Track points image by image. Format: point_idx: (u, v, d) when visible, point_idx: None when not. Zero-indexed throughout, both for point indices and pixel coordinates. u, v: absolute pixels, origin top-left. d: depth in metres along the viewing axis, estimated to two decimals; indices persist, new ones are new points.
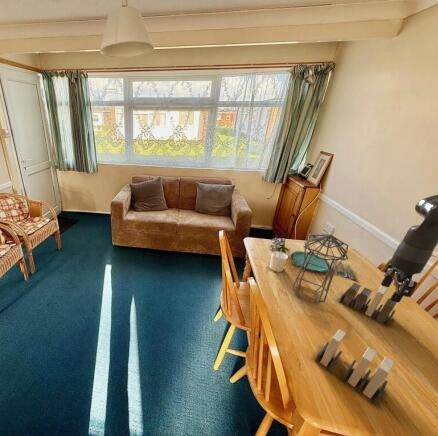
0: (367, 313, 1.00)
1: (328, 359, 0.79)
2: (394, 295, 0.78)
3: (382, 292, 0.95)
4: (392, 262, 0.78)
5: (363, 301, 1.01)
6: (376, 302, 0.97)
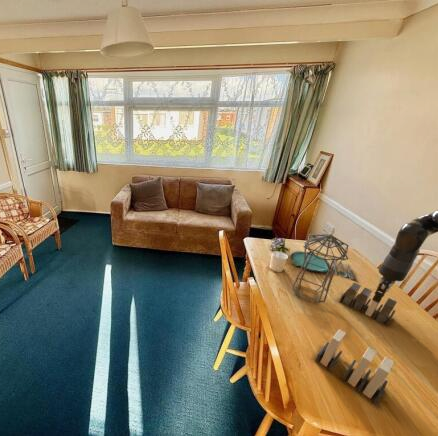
0: (367, 313, 1.00)
1: (328, 359, 0.79)
2: (374, 295, 0.96)
3: None
4: (379, 269, 0.95)
5: (363, 301, 1.01)
6: (376, 302, 0.97)
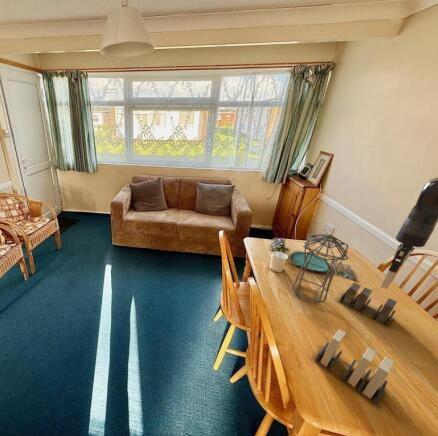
0: (382, 286, 0.93)
1: (328, 359, 0.79)
2: (391, 265, 0.89)
3: (400, 261, 0.88)
4: (396, 236, 0.88)
5: (363, 301, 1.01)
6: (393, 272, 0.89)
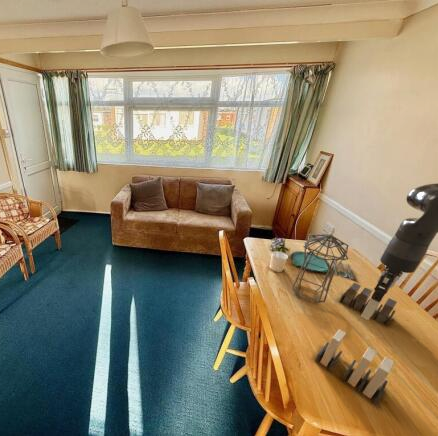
0: (364, 316, 0.77)
1: (328, 359, 0.79)
2: (374, 292, 0.72)
3: None
4: (381, 257, 0.71)
5: (363, 301, 1.01)
6: (376, 301, 0.73)
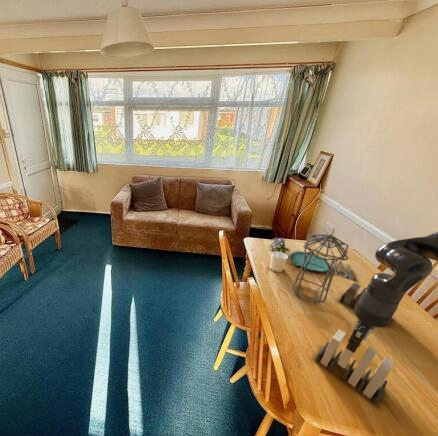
0: (340, 363, 0.76)
1: (328, 359, 0.79)
2: (349, 343, 0.72)
3: None
4: (355, 308, 0.71)
5: None
6: None
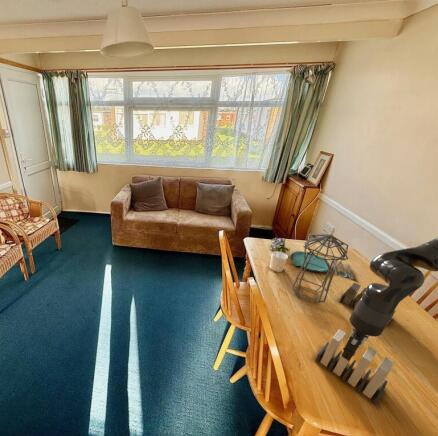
0: (335, 371, 0.78)
1: (328, 359, 0.79)
2: (344, 351, 0.73)
3: None
4: (350, 316, 0.72)
5: None
6: (346, 360, 0.74)
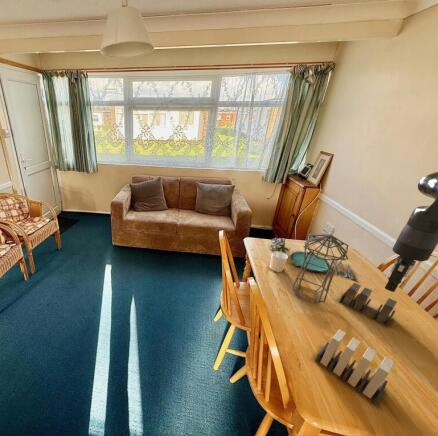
0: (335, 371, 0.78)
1: (328, 359, 0.79)
2: (388, 282, 0.71)
3: (353, 348, 0.73)
4: None
5: (363, 301, 1.01)
6: (346, 360, 0.74)
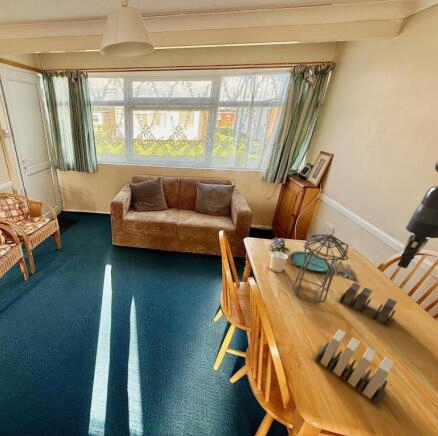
0: (335, 371, 0.78)
1: (328, 359, 0.79)
2: (401, 259, 0.75)
3: (353, 348, 0.73)
4: (407, 225, 0.75)
5: (363, 301, 1.01)
6: (346, 360, 0.74)
